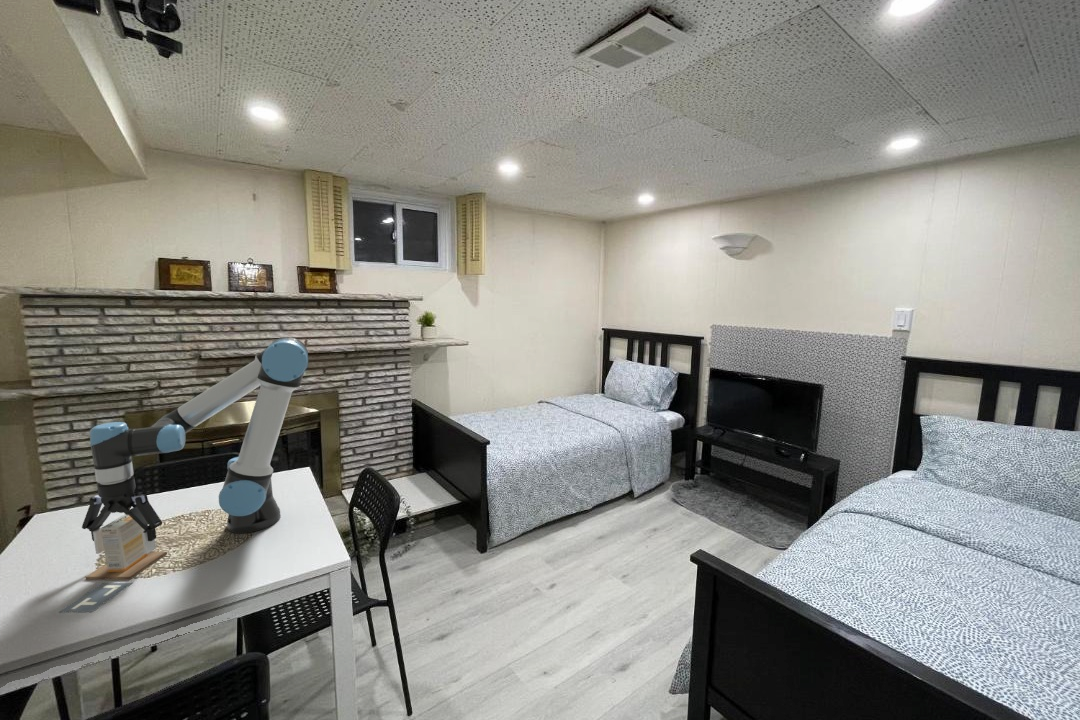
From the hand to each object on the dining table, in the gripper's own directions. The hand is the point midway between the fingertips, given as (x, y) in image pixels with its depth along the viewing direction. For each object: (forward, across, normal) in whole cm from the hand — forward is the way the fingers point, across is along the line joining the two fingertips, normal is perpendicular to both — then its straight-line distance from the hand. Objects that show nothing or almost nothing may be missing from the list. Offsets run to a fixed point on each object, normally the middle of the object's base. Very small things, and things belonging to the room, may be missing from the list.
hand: (126, 551), depth 126 cm
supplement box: (+4, 0, 0) cm, 4 cm away
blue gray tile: (+4, -4, +13) cm, 14 cm away
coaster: (+4, 0, 0) cm, 5 cm away
